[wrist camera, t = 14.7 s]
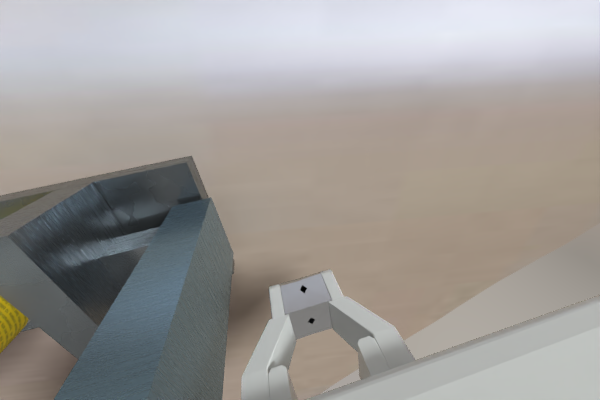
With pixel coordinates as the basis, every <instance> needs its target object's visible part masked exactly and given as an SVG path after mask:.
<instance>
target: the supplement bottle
mask: <svg viewBox="0 0 600 400" xmlns="http://www.w3.org/2000/svg"><path fill="white" fill-rule="evenodd" d="M30 321H31V320H30V319H28V318H27V317H26V316H25V315H24V314H22V313H21V312H20V311H19V310H17V309H16V308H15V307H14V306H13V305H11V304H10V303H9V302H8V301H6V300H5V299H4V298H3V297H2V296H0V353H1V352H2V351H3V350H4V349H5V348H6V347H7V346H8V344H9V343H10V342H11V341H12V340H13V339H14V338H15V337H16V336H17V335H18V333H19V332H20V331H21V330H22V329H23V328H24V327H25V326H26V325H27V324H28V323H29V322H30Z"/></svg>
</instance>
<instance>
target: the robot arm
mask: <svg viewBox="0 0 600 400" xmlns="http://www.w3.org/2000/svg"><path fill="white" fill-rule="evenodd" d="M269 296H270V305H271V313H272V319H270V320H269V321H268V323H267V325H266V327H265V329H264V331H263V333H262V336H261V338H260V340H259V342H258V344H257V346H256V348H255V350H254V352H253V354H252V357H251V359H250V361H249V363H248V365H247V367H246V369H245V371H244V373H243V375H242V392H241V400H298V399H297V395H296V393H295V390H294V387H293V384H292V382H291V379H290V376H289V373H288V369H289V365H290V362H291V358H292V355H293V351H294V348H295V344H296V340H297V339H299V338H302V337H305V336H308V335H311V334H313V333H317V332H320V331H324V330H327V329H331V328H333V330H334V331H335V332H337V333H338V334H339V335H340V336H341V337H342V338H343V339H344V340H345V341H346V342H347V343H348V344H349V345H351V346H352V347H353V348H354V349H355V350H356V351H357V352H358V360H359V376H360V379H361V380H359V381H356V382H353V383H350V384H348V385H344V386H342V387H339V388H336V389H333V390H331V391H328V392H325V393H322V394H319V395H316V396H313V397H311V398H308V399H305V400H600V295H598V296H595V297H592V298H589V299H587V300H584V301H581V302H578V303H575V304H572V305H570V306H567V307H564V308H561V309H558V310H556V311H553V312H550V313H547V314H544V315H541V316H539V317H536V318H533V319H531V320H527V321H525V322H522V323H519V324H516V325H513V326H511V327H508V328H505V329H502V330H499V331H497V332H494V333H491V334H488V335H485V336H483V337H480V338H477V339H474V340H471V341H468V342H466V343H463V344H460V345H457V346H454V347H452V348H449V349H446V350H443V351H441V352H437V353H435V354H432V355H429V356H426V357H424V358H421V359H418V360H415V358H414V357H413V355H412V354H411V352H410V350H409V349H408V347H407V346H406V344H405V342H404V341H403V339H402V338H401V336H400V334H399V333H398V331H397V330H396V328H395V327H394V326H393V325H391V324H390V323H388V322H387V321H385V320H384V319H382V318H380V317H379V316H377V315H376V314H374V313H373V312H371V311H369V310H368V309H366V308H365V307H363V306H362V305H360V304H359V303H357V302H355V301H354V300H352V299H351V298H349V297H348V296H345V297H344V296H343V294H342V292H341V290H340V287H339V285H338V283H337V281H336V279H335V277H334V275H333V273H332V271H331V270H330V269H329V270H326V271H322V272H319V273H315V274H312V275H309V276H305V277H302V278H300V279H296V280H292V281H288V282H284V283H281V284H277V285H274V286H270V287H269Z"/></svg>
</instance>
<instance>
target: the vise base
mask: <svg viewBox="0 0 600 400" xmlns="http://www.w3.org/2000/svg"><path fill="white" fill-rule="evenodd" d="M92 182H93V183H94V185H95V186H96V188H97V189H98V191H99V192H100V194H101V195H102V197H103V198H104V200H105V201H106V203H107V204H108V206H109V207H110V209H111V210H112V212H113V213H114V215H115V216H116V218H117V219H118V221H119V222H120V224H121V225H122V227H123V228H124V230H125V231H126V233H127V234H132V233H136V232H140V231H145V230H149V229H153V228H157V227H160V226H161V224H162V223H163V221H164V220H165V218H166V216H167V215H168V213H169V211H170V210H171V208H172V207H173V206H176V205H180V204H185V203H189V202H193V201H198V200H202V199H206V198H208V195H207V193H206V190H205V188H204V185H203V183H202V180H201V178H200V175H199V173H198V170H197V168H196V165H195V163H194V161H193V158H192V156H189V157H184V158H179V159H174V160H169V161H165V162H160V163H155V164H150V165H145V166H141V167H136V168H131V169H126V170H121V171H117V172H112V173H107V174H102V175H97V176H93V177H88V178H83V179H78V180H73V181H69V182H64V183H59V184H54V185H50V186H45V187H40V188H35V189H30V190H26V191H21V192H16V193H11V194H6V195H2V196H0V220H1V219H3V218H5V217H7V216H8V215H10V214H12V213H14V212H16V211H18V210H20V209H21V208H23V207H25V206H27V205H29V204H31V203H32V202H34V201H36V200H38V199H40V198H42V197H43V196H45V195H47V194H49V193H51V192H53V191H55V190H59V189H64V188H68V187H73V186H78V185H83V184H87V183H92ZM232 274H234V259H233V264H232ZM37 327H38V326H37V325H36V324H34V323H33V322H32V321H30V322H29V323H28V324H27V325H26V326H25V327H24V328H23V329H22V330H21V331H20V332H22V331H26V330H29V329H33V328H37Z"/></svg>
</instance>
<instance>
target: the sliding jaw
mask: <svg viewBox="0 0 600 400" xmlns="http://www.w3.org/2000/svg"><path fill="white" fill-rule="evenodd" d="M232 264H233V251H232V249H231V246H230V243H229V241H228V238H227V236H226V233H225V231H224V228H223V226H222V223H221V221H220V218H219V216H218V213H217V211H216V208H215V206H214V203H213V201H212V198H206V199H202V200H198V201H193V202H189V203H185V204H180V205H176V206H173V207H172V208H171V210H170V211H169V213H168V215H167V216H166V218H165V220H164V221H163V223H162V224H161V226H160V227H157V228H153V229H149V230H145V231H140V232H136V233H132V234H127V233H126V231H125V230H124V228H123V227H122V225H121V224H120V222H119V221H118V219H117V218H116V216H115V215H114V213H113V212H112V210H111V209H110V207H109V206H108V204H107V203H106V201H105V200H104V198H103V197H102V195H101V194H100V192H99V191H98V189H97V188H96V186H95V185H94V183H93V182H92V183H87V184H83V185H78V186H73V187H68V188H64V189H59V190H55V191H53V192H51V193H49V194H47V195H45V196H43V197H42V198H40V199H38V200H36V201H34V202H32V203H31V204H29V205H27V206H25V207H23V208H21V209H20V210H18V211H16V212H14V213H12V214H10V215H8V216H7V217H5V218H3V219H1V220H0V296H2V297H3V298H4V299H5V300H6V301H8V302H9V303H10V304H11V305H13V306H14V307H15V308H16V309H17V310H19V311H20V312H21V313H22V314H24V315H25V316H26V317H27V318H28V319H30V320H31V321H32V322H33V323H34V324H36V325H37V326H38V327H39V328H41V329H42V330H43V331H44V332H45V333H47V334H48V335H49V336H50V337H52V338H53V339H54V340H55V341H56V342H58V343H59V344H60V345H61V346H63V347H64V348H65V349H66V350H67V351H69V352H70V353H71V354H72V355H74V356H75V357H76V358H77V359H78V361H77V363H76V364H75V366H74V368H73V369H72V371H71V372H70V374H69V376H68V377H67V379H66V381H65V382H64V384H63V385H62V387H61V389H60V390H59V392H58V394H57V395H56V397H55V398H54V400H222V393H223V380H224V367H225V354H226V341H227V329H228V316H229V303H230V290H231V277H232Z"/></svg>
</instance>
